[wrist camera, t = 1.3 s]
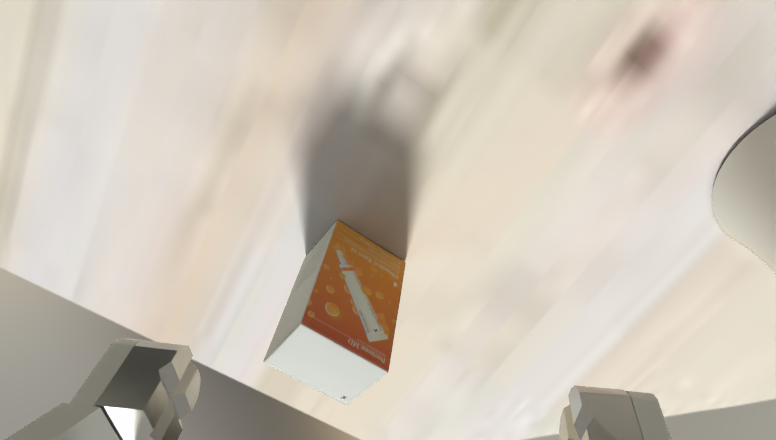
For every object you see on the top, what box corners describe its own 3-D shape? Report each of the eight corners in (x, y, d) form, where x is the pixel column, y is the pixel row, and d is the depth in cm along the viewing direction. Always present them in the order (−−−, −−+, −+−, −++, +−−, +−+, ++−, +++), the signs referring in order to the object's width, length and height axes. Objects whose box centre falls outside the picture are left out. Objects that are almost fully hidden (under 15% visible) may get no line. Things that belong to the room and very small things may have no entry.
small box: (407, 260, 48) (391, 374, 38) (370, 295, 52) (346, 408, 41) (336, 216, 46) (299, 323, 36) (303, 255, 50) (260, 364, 39)
